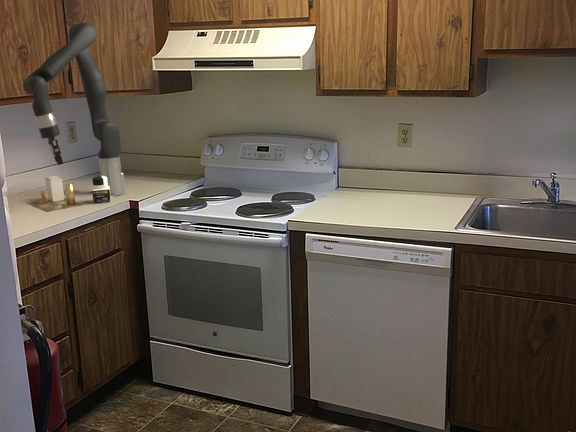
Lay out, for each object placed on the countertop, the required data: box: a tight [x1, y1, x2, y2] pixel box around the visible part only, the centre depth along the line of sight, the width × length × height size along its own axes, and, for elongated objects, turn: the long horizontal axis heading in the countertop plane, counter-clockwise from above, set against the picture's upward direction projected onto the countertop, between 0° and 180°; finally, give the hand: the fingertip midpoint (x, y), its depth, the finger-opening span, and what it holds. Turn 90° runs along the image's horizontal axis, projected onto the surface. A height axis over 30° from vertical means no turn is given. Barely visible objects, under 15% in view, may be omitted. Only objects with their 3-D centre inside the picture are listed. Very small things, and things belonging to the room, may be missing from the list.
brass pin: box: [64, 182, 76, 206], centre depth 268 cm, size 3×3×9 cm
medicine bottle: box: [91, 175, 112, 205], centre depth 273 cm, size 7×7×12 cm
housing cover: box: [44, 175, 65, 202], centre depth 280 cm, size 5×6×10 cm
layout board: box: [25, 190, 85, 213], centre depth 272 cm, size 16×24×6 cm, turn 41°
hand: (59, 163), depth 268 cm, fingers open, 8 cm apart
